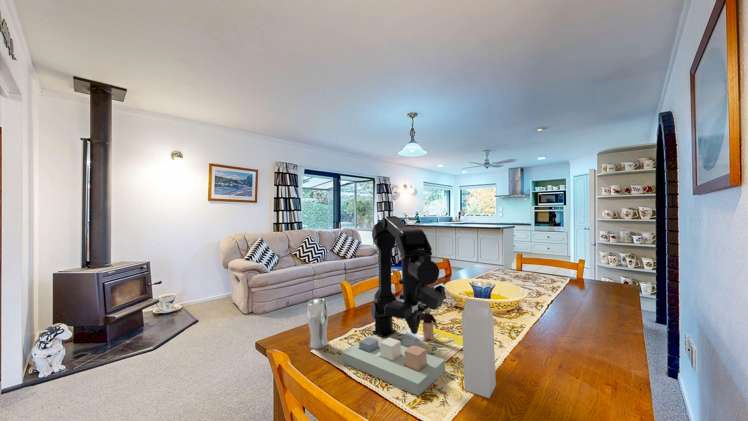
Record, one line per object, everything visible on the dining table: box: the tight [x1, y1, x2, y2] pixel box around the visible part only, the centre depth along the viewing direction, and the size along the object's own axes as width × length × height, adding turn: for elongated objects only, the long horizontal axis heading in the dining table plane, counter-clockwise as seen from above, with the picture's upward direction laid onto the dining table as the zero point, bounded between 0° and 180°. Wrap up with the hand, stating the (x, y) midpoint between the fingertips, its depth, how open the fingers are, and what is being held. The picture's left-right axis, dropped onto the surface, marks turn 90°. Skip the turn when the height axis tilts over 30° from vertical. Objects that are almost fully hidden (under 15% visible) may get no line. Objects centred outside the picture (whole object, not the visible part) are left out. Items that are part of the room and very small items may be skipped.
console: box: [340, 335, 446, 397], centre depth 84 cm, size 14×27×3 cm, turn 50°
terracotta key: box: [405, 344, 427, 372], centre depth 79 cm, size 4×4×4 cm
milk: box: [461, 298, 497, 399], centre depth 72 cm, size 6×6×22 cm
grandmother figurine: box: [420, 308, 439, 343], centre depth 100 cm, size 8×4×13 cm, turn 65°
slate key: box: [358, 336, 379, 353], centre depth 90 cm, size 4×4×4 cm
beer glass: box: [306, 297, 329, 350], centre depth 99 cm, size 7×7×15 cm
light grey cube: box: [380, 337, 402, 362], centre depth 84 cm, size 4×4×4 cm
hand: (414, 333), depth 79 cm, fingers closed
